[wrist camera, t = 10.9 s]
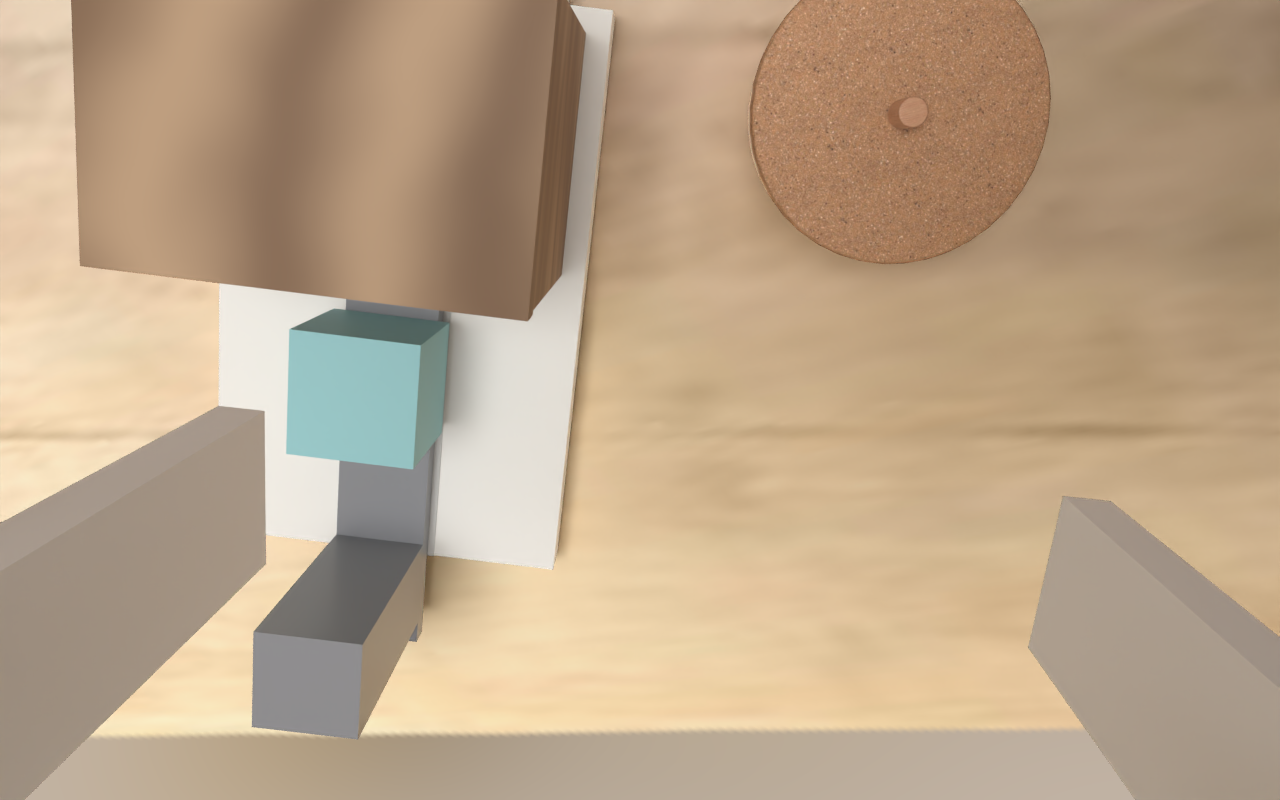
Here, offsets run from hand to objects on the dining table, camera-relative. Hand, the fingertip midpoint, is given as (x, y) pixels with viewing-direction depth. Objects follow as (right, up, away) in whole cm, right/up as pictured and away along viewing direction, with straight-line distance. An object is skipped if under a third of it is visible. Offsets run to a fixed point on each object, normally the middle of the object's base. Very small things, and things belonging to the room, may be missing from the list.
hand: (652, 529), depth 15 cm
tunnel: (-10, +13, +24) cm, 29 cm away
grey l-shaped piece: (-12, 0, +27) cm, 30 cm away
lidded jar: (+9, +14, +26) cm, 31 cm away
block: (-11, +3, +25) cm, 28 cm away
